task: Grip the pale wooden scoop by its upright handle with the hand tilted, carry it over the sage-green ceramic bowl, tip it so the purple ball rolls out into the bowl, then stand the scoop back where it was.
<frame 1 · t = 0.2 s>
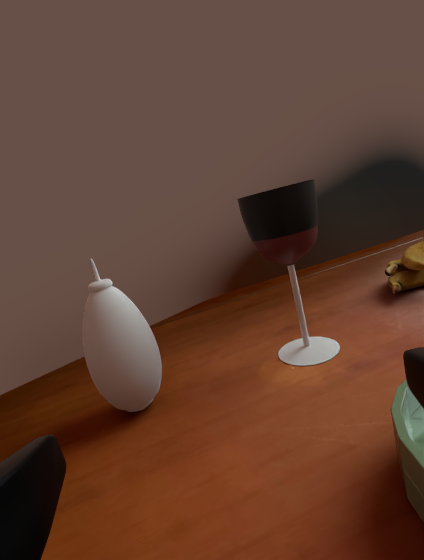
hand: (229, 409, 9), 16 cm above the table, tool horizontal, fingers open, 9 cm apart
sauce bottle: (140, 407, 41), on the table
wineglass: (308, 351, 44), on the table
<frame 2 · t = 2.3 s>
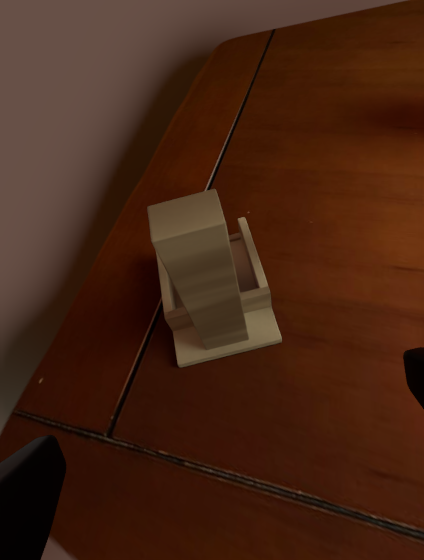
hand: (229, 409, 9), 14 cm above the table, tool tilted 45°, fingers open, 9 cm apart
scoop: (225, 335, 25), on the table, touching ball
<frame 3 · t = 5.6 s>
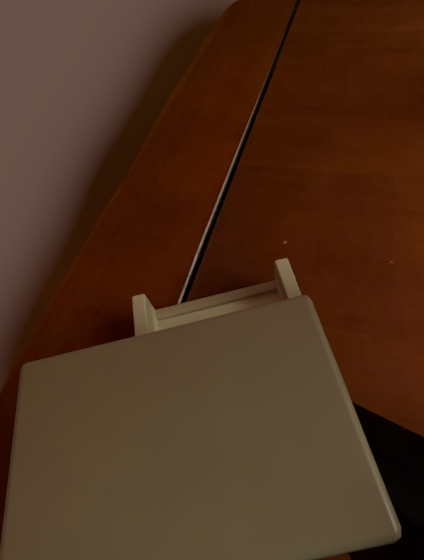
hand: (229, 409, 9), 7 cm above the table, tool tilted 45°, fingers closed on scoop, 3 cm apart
scoop: (257, 480, 14), on the table, touching ball, gripper
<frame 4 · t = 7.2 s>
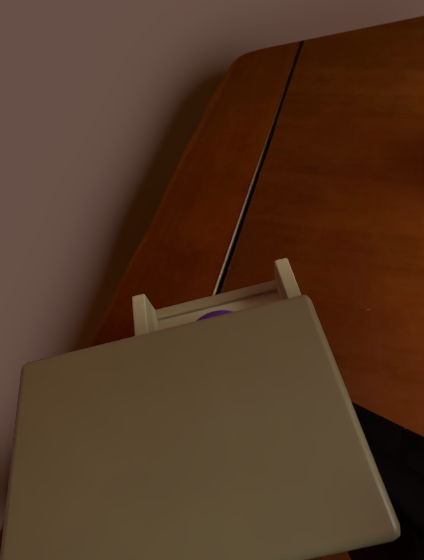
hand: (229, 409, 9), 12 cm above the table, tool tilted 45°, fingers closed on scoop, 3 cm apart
scoop: (257, 480, 14), point 5 cm above the table, touching ball, gripper
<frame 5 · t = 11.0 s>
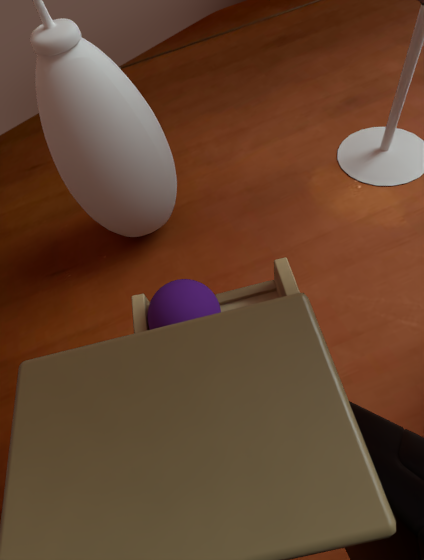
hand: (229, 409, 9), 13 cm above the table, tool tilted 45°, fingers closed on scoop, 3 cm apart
scoop: (256, 480, 14), point 7 cm above the table, touching ball, gripper
sauce bottle: (147, 224, 31), on the table
wineglass: (382, 156, 31), on the table
ball: (184, 315, 15), point 9 cm above the table, tilted 59°, touching scoop
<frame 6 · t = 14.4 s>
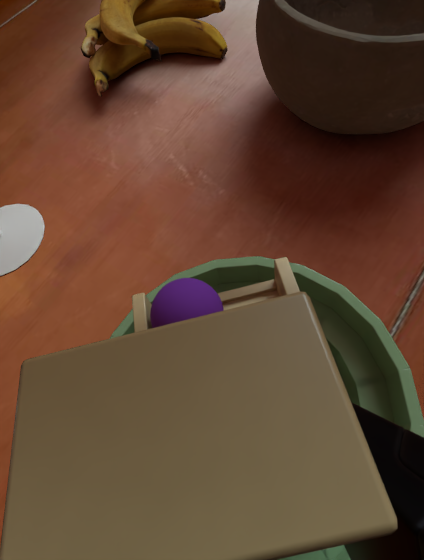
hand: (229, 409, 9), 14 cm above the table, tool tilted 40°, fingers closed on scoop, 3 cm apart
scoop: (257, 479, 14), point 7 cm above the table, tilted 6°, touching ball, gripper
banana: (161, 55, 39), on the table
wineglass: (5, 239, 31), on the table
green bowl: (248, 410, 22), on the table
bowl: (356, 97, 32), on the table
ball: (187, 314, 15), point 9 cm above the table, tilted 60°, touching scoop
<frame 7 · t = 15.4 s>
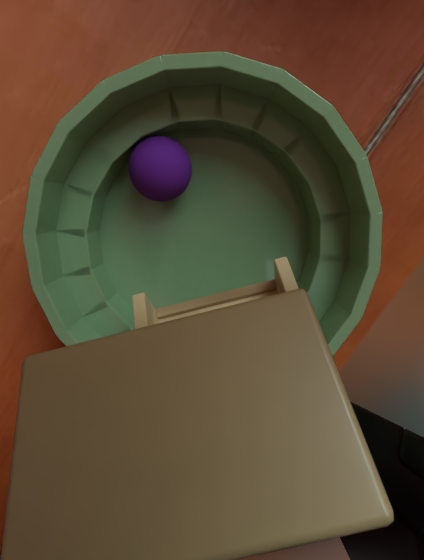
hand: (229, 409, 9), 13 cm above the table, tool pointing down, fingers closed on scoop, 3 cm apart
scoop: (256, 478, 14), point 9 cm above the table, tilted 45°, touching gripper
green bowl: (204, 239, 21), on the table
ball: (160, 169, 18), point 2 cm above the table, tilted 41°, touching green bowl
when the fingers open (7 cm above the table, at t = 25.6 s): scoop stays where it is, on the table.
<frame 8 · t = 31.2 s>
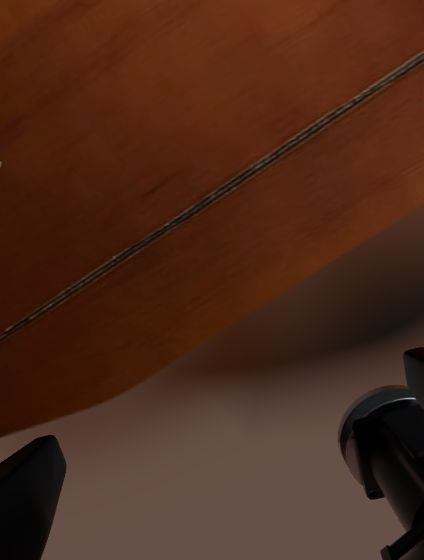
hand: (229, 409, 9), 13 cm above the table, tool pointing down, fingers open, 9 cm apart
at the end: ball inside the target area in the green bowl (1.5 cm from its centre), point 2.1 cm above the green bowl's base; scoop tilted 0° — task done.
